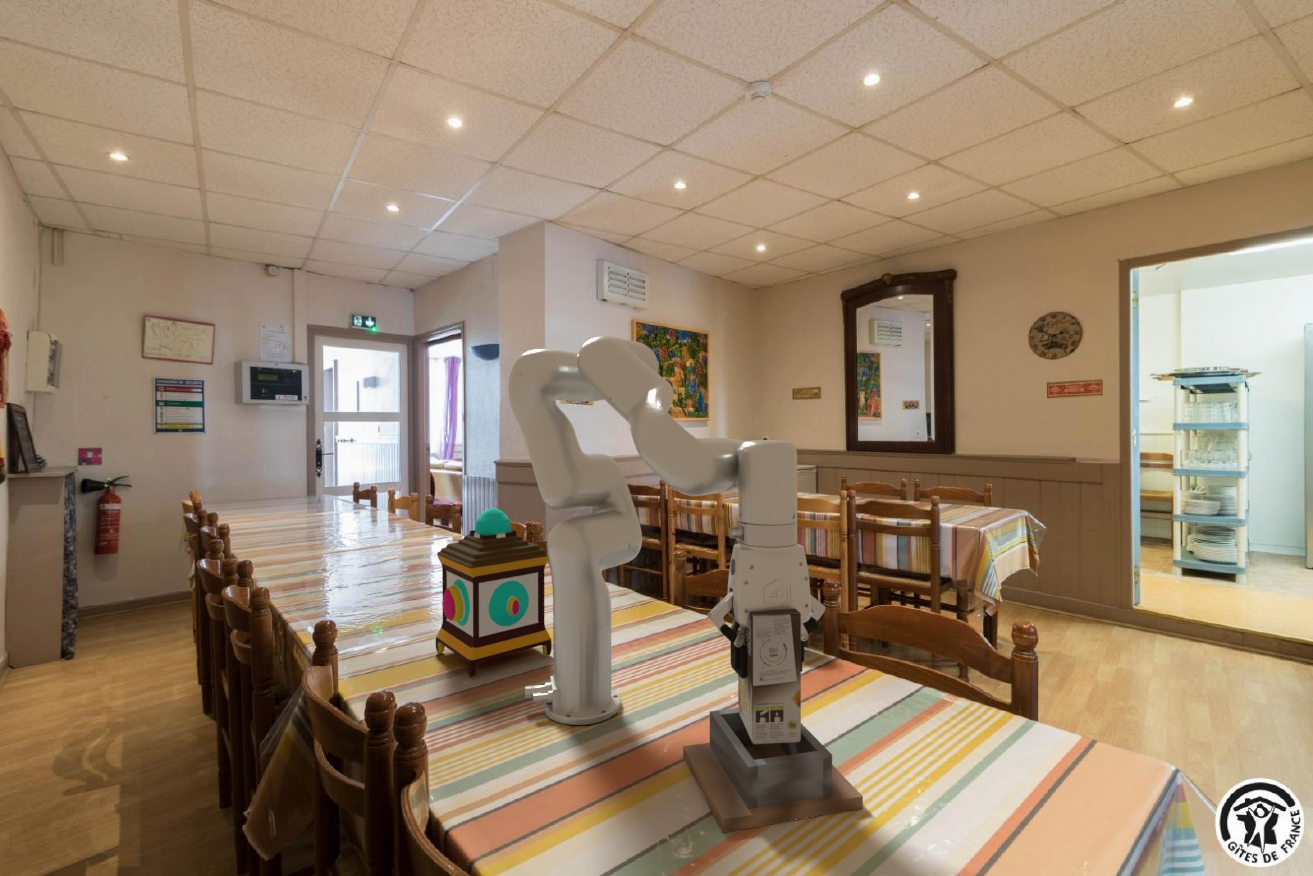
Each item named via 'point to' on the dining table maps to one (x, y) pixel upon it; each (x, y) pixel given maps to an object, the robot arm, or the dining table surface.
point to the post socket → (765, 777)
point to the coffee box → (772, 677)
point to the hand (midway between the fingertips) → (767, 670)
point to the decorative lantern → (492, 593)
